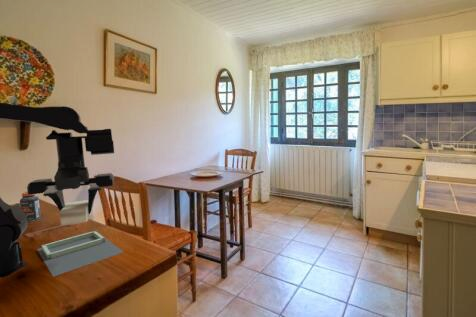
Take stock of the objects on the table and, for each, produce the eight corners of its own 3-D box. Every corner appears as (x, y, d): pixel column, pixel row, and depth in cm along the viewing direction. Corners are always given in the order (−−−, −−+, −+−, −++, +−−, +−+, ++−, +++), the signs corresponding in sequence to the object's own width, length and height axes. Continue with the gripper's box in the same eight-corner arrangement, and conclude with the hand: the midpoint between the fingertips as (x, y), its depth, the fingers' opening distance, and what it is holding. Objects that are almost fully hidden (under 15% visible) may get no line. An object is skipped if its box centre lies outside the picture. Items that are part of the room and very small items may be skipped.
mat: (124, 253, 72) (124, 252, 72) (53, 278, 61) (53, 276, 61) (97, 233, 88) (97, 232, 88) (37, 250, 77) (36, 249, 77)
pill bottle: (18, 222, 104) (14, 194, 102) (28, 217, 110) (25, 190, 108) (35, 221, 104) (31, 193, 103) (44, 216, 110) (40, 189, 109)
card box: (86, 222, 68) (85, 208, 67) (61, 225, 66) (59, 211, 65) (92, 211, 77) (90, 199, 77) (69, 214, 75) (68, 202, 75)
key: (26, 240, 87) (78, 227, 97) (25, 238, 87) (78, 225, 97) (24, 234, 91) (75, 222, 101) (24, 232, 91) (75, 220, 101)
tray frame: (105, 241, 80) (105, 238, 80) (48, 259, 70) (47, 255, 70) (95, 234, 86) (95, 230, 86) (41, 249, 76) (41, 245, 76)
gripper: (14, 162, 59) (23, 231, 60) (108, 156, 66) (114, 218, 67) (31, 158, 69) (39, 217, 71) (111, 153, 76) (116, 207, 77)
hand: (77, 215), depth 71 cm, fingers closed on card box, 5 cm apart
